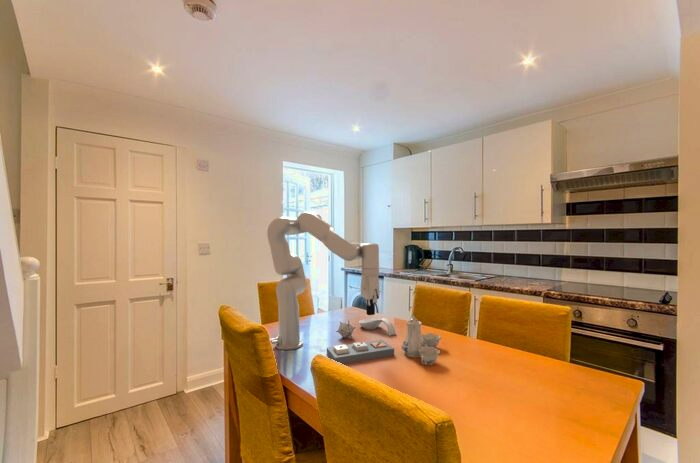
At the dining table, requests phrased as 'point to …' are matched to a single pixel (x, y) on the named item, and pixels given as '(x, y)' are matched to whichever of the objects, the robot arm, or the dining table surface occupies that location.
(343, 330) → the spiky ball
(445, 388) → the dining table surface
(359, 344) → the button two
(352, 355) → the button panel
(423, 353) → the chinaware
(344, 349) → the button one
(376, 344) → the button three
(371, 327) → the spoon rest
